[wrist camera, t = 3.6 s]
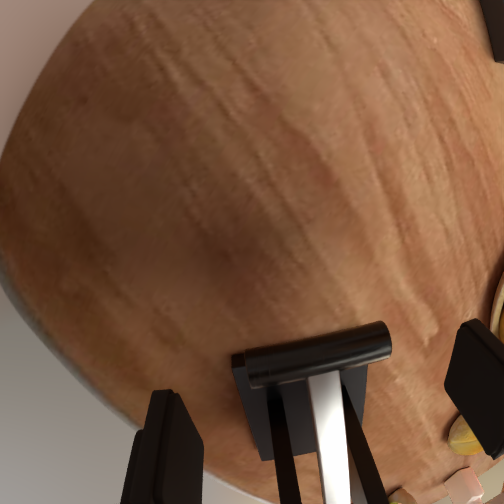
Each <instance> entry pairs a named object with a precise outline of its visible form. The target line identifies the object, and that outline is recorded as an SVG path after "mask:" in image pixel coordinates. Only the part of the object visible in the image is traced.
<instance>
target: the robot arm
mask: <svg viewBox="0 0 504 504" xmlns="http://www.w3.org/2000/svg"><path fill="white" fill-rule="evenodd" d="M444 388H445V391H446V392H447V394H448V395H449V397H450V398H451V400H452V401H453V403H454V404H455V406H456V407H457V409H458V410H459V412H460V413H461V415H462V416H463V418H464V419H465V421H466V423H467V424H468V426H469V427H470V429H471V430H472V432H473V434H474V435H475V437H476V438H477V440H478V442H479V443H480V445H481V446H482V448H483V450H484V451H485V453H486V454H487V455H489V456H490V455H491V457H492V458H493V460H495V459H497V458H498V457H500V456H501V455H503V454H504V344H503V343H502V342H501V341H500V340H499V339H498V338H497V337H496V336H495V335H494V334H493V333H492V332H491V331H490V330H489V329H488V328H487V327H486V326H485V325H484V324H483V323H482V322H481V321H480V320H478V319H476V318H474V319H472V320H469V321H467V322H464V323H462V324H461V326H460V329H458V331H457V335H456V339H455V344H454V348H453V352H452V356H451V360H450V364H449V367H448V371H447V375H446V378H445V382H444ZM203 459H204V445H203V441H202V439H201V437H200V435H199V433H198V431H197V429H196V427H195V425H194V423H193V421H192V419H191V417H190V415H189V413H188V411H187V409H186V407H185V405H184V403H183V401H182V399H181V397H180V395H179V394H178V393H174V392H173V390H171V389H167V390H154V391H153V392H152V395H151V399H150V404H149V408H148V412H147V416H146V421H145V425H144V429H143V430H138V431H137V432H136V435H135V438H134V442H133V446H132V450H131V455H130V460H129V464H128V468H127V473H126V477H125V482H124V487H123V492H122V497H121V502H120V504H202V482H203ZM485 504H504V483H503V488H502V492H501V494H499V495H498V496H496V497H494V498H493V499H491V500H490V501H488V502H486V503H485Z"/></svg>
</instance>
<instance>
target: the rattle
mask: <svg viewBox="0 0 504 504" xmlns="http://www.w3.org/2000/svg"><path fill="white" fill-rule="evenodd" d="M388 500H389V503H390V504H398V503H402V504H417V502H416V500H415V499H414V498H413V496H412V495H410V494H409V493H407V491H406V490H405V489H398V490H396V491H395V492H394V493H393V494H392V495H390V496H389V498H388Z"/></svg>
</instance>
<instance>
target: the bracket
mask: <svg viewBox="0 0 504 504" xmlns="http://www.w3.org/2000/svg"><path fill="white" fill-rule="evenodd" d="M231 358H232V371H233V375H234V378H235V381H236V384H237V388H238V391H239V394H240V397H241V400H242V404H243V407H244V410H245V413H246V416H247V419H248V422H249V425H250V428H251V431H252V434H253V437H254V440H255V443H256V446H257V449H258V452H259V455H260V458H261V461H268V460H275V468H276V475H277V483H278V490H279V497H280V504H302V502H301V497H300V491H299V486H298V480H297V475H296V469H295V464H294V458H293V456H297V455H302V454H307V453H312V452H317V451H316V444H315V437H314V430H313V424H312V417H311V410H310V404H309V397H308V391H307V384H306V379H305V380H301V381H296V382H291V383H286V384H280V385H275V386H269V387H263V388H257V389H252V388H251V387H250V384H249V380H248V376H247V371H246V365H245V356H244V354H238V355H232V357H231ZM367 369H368V364H367V365H363V366H360V367H356V368H352V369H348V370H344V371H340V372H339V374H340V382H341V390H342V399H343V408H344V417H345V427H346V438H347V449H348V462H349V476H350V492H351V498H352V502H353V504H390V503H389V500H388V498H387V495H386V492H385V489H384V486H383V484H382V481H381V478H380V475H379V473H378V470H377V467H376V464H375V462H374V459H373V456H372V454H371V451H370V448H369V446H368V443H367V440H366V438H365V435H364V433H363V430H362V421H363V413H364V403H365V393H366V382H367Z"/></svg>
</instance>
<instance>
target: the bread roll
mask: <svg viewBox="0 0 504 504" xmlns="http://www.w3.org/2000/svg"><path fill="white" fill-rule="evenodd" d="M447 444H448V447H449V448H450V449H451V450H452V451H453V452H454V453H456V454H459V455H474V454H476V453H479V452H481V451H483V448H482V446H481V445H480V443H479V442H478V440H477V438H476V437H475V435H474V434H473V432H472V430H471V429H470V427H469V426H468V424H467V423H466V421H465V419H464V418H463V416H462V415H460V416H459V417H458V418H457V419H456V421H455V422H454V424H453V425H452V427H451V429H450V432H449V437H448V442H447Z"/></svg>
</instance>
